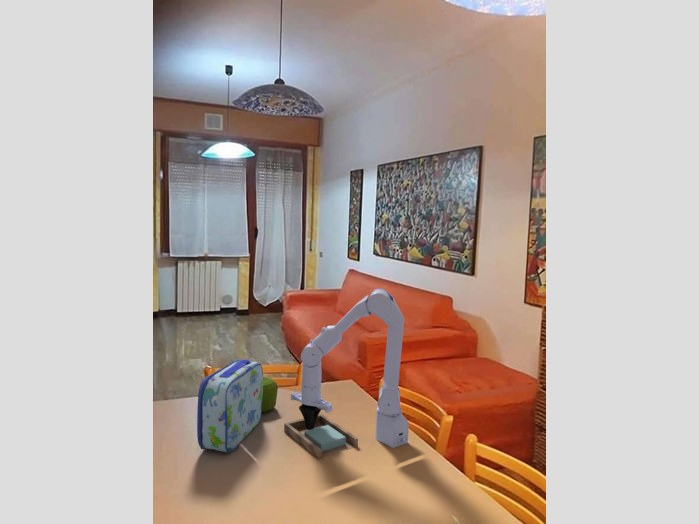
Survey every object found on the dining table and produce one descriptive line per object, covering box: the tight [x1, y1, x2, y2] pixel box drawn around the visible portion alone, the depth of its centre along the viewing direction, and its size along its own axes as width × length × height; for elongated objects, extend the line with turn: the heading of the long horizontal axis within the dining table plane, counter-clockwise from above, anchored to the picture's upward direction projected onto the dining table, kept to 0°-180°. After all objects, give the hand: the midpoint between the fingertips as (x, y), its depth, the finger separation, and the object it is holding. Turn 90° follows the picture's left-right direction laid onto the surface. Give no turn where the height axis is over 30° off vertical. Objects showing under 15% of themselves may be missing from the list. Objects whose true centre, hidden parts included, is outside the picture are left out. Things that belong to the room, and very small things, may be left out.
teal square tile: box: [304, 425, 346, 452], centre depth 133 cm, size 9×8×2 cm
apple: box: [261, 376, 279, 413], centre depth 155 cm, size 11×11×11 cm
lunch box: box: [196, 359, 264, 453], centre depth 135 cm, size 26×11×21 cm, turn 168°
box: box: [283, 413, 359, 460], centre depth 135 cm, size 19×13×3 cm
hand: (310, 428), depth 139 cm, fingers closed
